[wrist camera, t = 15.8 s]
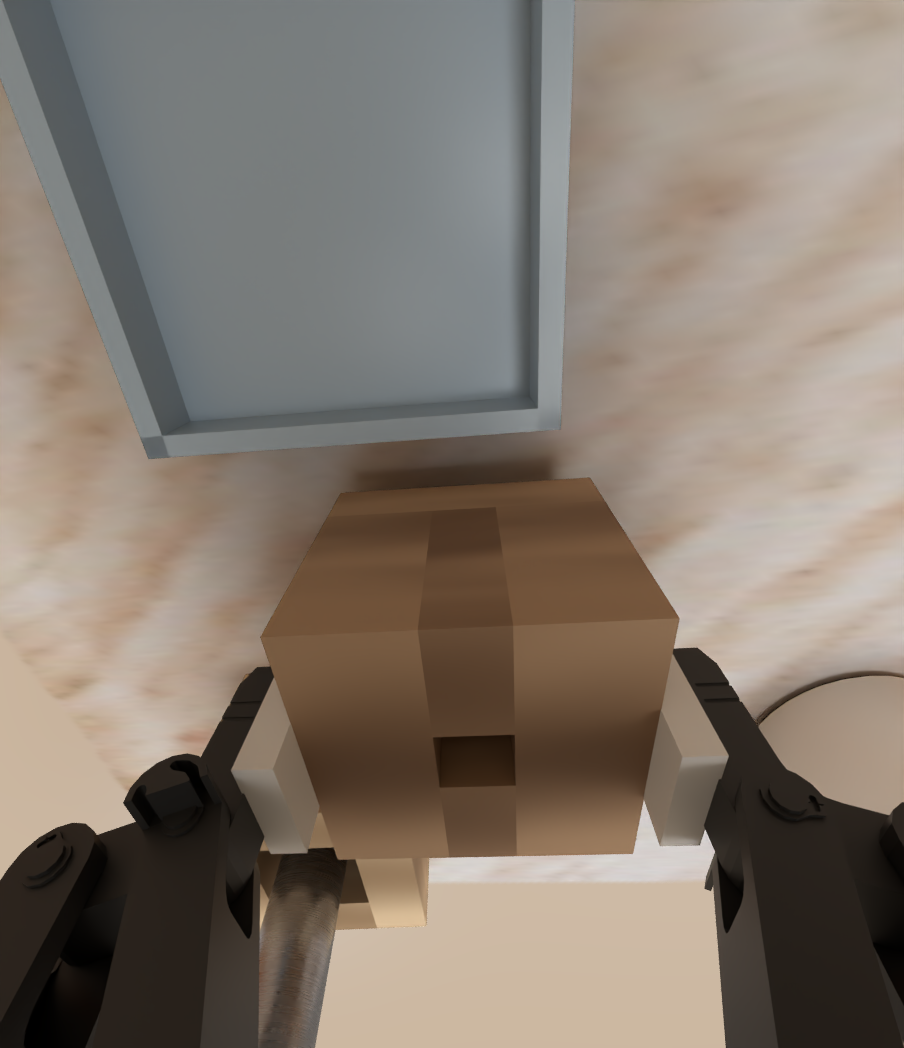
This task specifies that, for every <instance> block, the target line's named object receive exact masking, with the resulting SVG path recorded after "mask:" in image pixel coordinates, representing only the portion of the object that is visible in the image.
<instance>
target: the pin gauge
mask: <svg viewBox="0 0 904 1048" xmlns="http://www.w3.org/2000/svg"><path fill="white" fill-rule="evenodd" d="M346 866H347V860H338V859H337V856H336V853H335V850H334V847H330V848H309V849H308V852H307V853H292V854H282V857H281V860H280V863H279V867H278V870H277V874H276V877H275V881H274V884H273V887H272V891H271V894H270V898H269V901H268V905H267V908H266V911H265V915H264V918H263V922H262V925H261V929H260V953H259V1036H258V1048H315V1043H316V1037H317V1032H318V1026H319V1021H320V1015H321V1009H322V1004H323V998H324V992H325V986H326V981H327V974H328V969H329V963H330V958H331V951H332V946H333V941H334V934H335V929H336V923H337V918H338V912H339V906H340V900H341V895H342V889H343V883H344V877H345V872H346Z"/></svg>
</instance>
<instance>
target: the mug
mask: <svg viewBox="0 0 904 1048" xmlns="http://www.w3.org/2000/svg"><path fill="white" fill-rule="evenodd" d="M758 728H759V729H760V731H761V732H762V734H763V735H764V737H765V738H766V740H767V741H768V743H769V745H770V746H771V748H772V749H773V751H774V752H775V754H776V755H777V757H778V758H779V760H780V761H781V763H782V764H783V765H784V766H785V768H786V769H787V770H789V771H792V772H794V773H796V774H798V775H799V776H801V777H802V778H804V779H805V780H807V781H808V782H810V783H811V784H812V785H813V786H814V787H815V788H816V789H817V790H818V791H819V792H820V793H821V794H822V795H823V796H825V797H827V798H829V799H832V800H835V801H838V802H841V803H844V804H848V805H852V806H856V807H860V808H864V809H867V810H871V811H875V812H879V813H883V814H886V815H890V814H891V812H892V810H893V809H895V808H896V807H897V806H898V805H899V804H900V803H902V802H904V678H900V677H894V676H865V677H858V678H850V679H844V680H839V681H836V682H832V683H828V684H824V685H821V686H818V687H816V688H813V689H811V690H808V691H806V692H803V693H802V694H800V695H798V696H796V697H794V698H792V699H790V700H789V701H787V702H785V703H784V704H783V705H781V706H780V707H779V708H777V709H776V710H774V711H773V712H772V713H771V714H770V715H769V716H768V717H767V718H766V719H765V720H764V721H763V722H762V723H761V724H760V725H759V726H758ZM901 1039H902V1038H901ZM902 1042H903V1040H902ZM903 1045H904V1042H903Z"/></svg>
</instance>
